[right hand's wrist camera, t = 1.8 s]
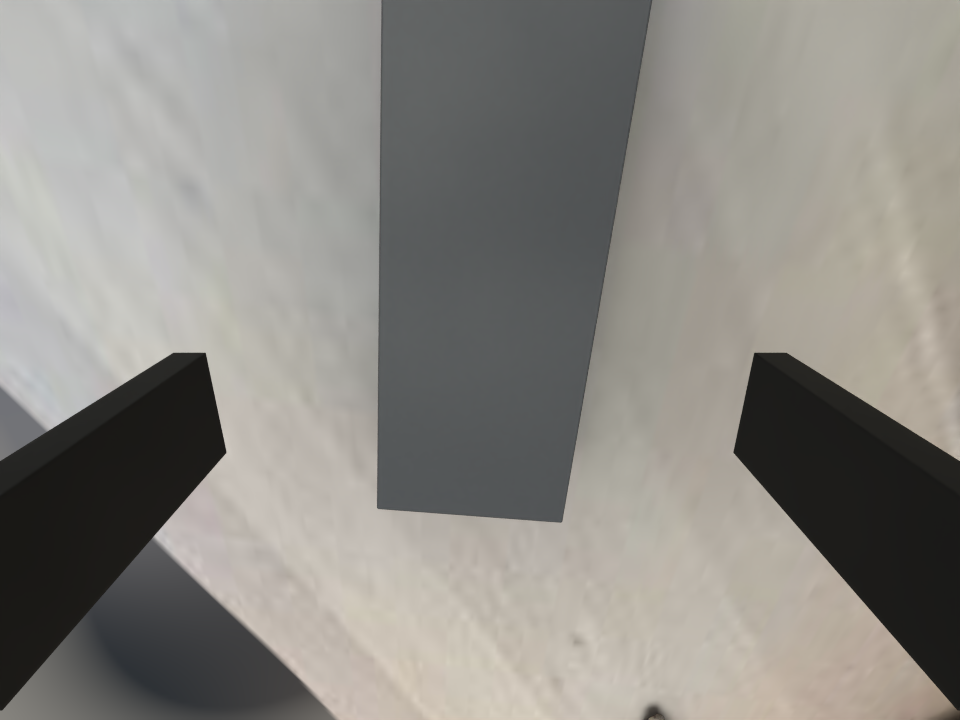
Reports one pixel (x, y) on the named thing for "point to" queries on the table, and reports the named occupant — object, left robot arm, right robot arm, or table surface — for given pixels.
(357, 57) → the table surface
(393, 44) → the thick board
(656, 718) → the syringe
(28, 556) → the right robot arm
